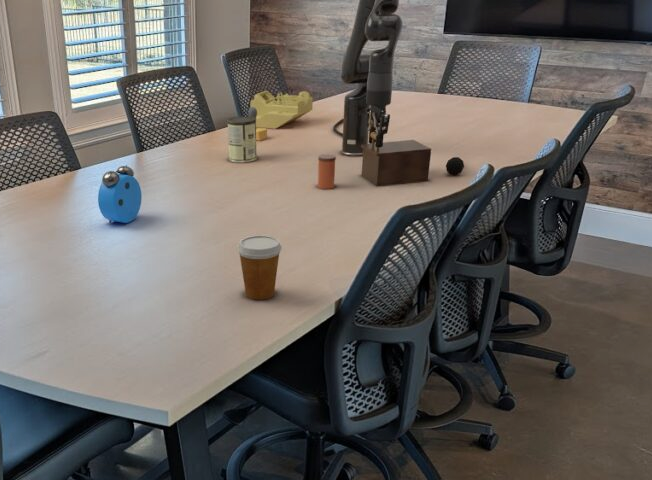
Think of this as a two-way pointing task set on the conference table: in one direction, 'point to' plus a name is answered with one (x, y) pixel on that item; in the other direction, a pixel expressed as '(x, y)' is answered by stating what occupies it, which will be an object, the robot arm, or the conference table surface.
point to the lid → (394, 147)
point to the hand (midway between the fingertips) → (375, 144)
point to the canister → (326, 171)
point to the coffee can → (242, 139)
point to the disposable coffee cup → (259, 265)
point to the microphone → (454, 166)
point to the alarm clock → (119, 195)
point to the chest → (396, 168)
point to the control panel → (280, 108)
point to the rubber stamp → (260, 132)
